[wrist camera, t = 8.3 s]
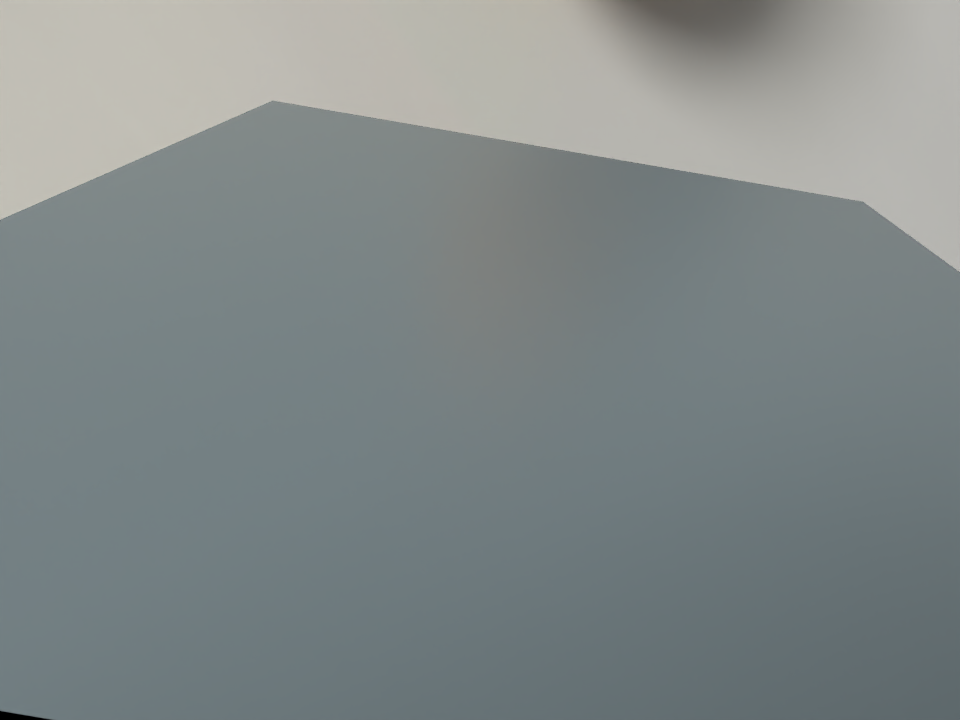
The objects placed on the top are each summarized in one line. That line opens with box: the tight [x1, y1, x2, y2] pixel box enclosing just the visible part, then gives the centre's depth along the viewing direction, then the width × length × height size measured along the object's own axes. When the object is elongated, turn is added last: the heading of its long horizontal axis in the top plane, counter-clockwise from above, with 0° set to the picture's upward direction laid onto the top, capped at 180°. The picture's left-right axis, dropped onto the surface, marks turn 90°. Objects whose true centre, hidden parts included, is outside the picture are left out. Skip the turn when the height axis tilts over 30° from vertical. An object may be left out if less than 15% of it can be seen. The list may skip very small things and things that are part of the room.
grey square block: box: [0, 101, 960, 720], centre depth 8 cm, size 8×8×9 cm
